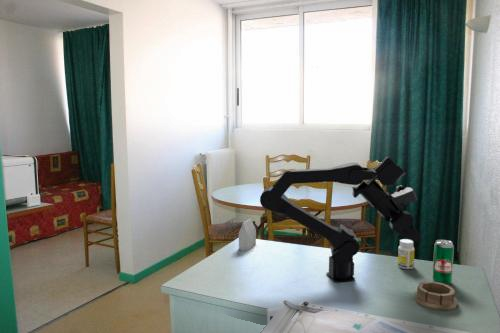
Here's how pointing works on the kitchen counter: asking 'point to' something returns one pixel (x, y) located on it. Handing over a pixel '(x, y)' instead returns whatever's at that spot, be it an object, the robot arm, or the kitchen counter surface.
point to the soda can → (443, 261)
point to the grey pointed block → (247, 235)
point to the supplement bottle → (406, 254)
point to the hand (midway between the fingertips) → (415, 236)
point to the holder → (436, 296)
